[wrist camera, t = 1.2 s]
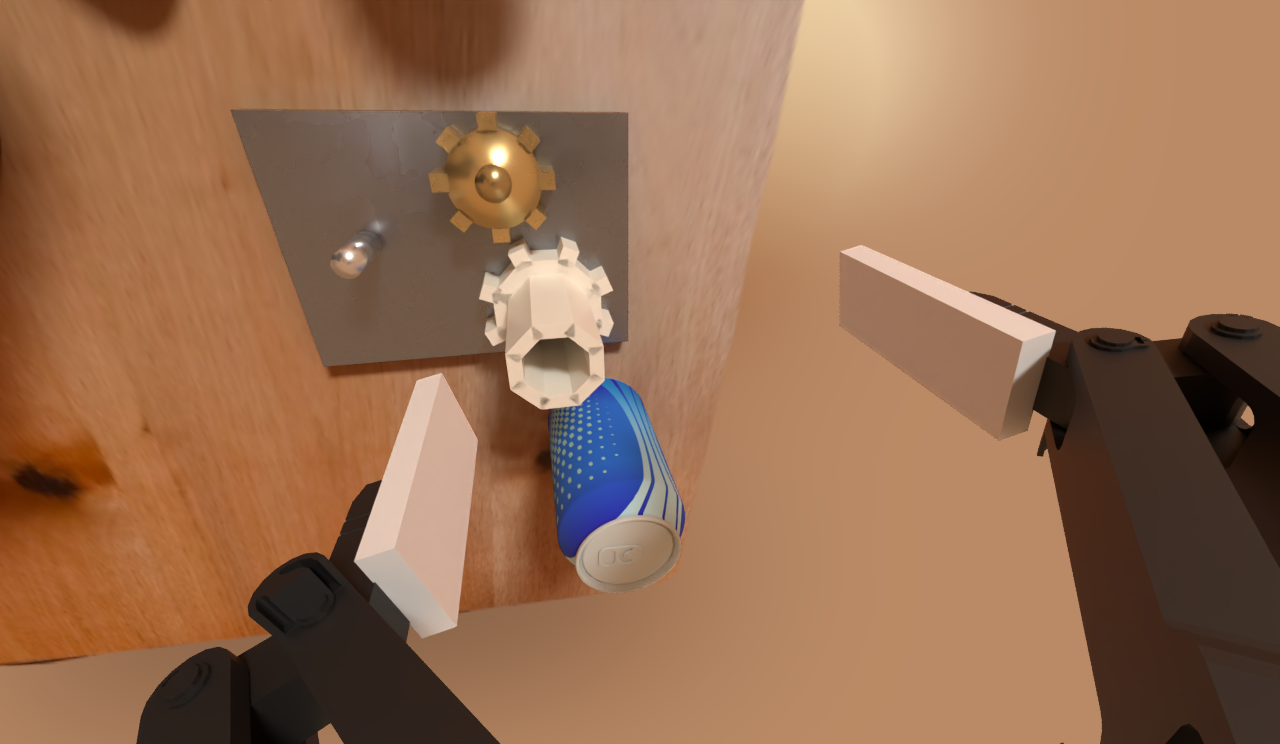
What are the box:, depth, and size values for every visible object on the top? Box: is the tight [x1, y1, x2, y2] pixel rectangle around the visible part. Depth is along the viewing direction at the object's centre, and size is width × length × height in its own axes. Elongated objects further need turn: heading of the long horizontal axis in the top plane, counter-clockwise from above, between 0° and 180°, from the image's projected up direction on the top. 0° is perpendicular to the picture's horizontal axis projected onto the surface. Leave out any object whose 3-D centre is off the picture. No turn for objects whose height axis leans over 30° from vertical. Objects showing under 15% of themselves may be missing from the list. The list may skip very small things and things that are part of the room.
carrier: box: [231, 109, 628, 367], centre depth 31 cm, size 22×16×6 cm
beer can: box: [548, 378, 685, 593], centre depth 36 cm, size 8×8×16 cm
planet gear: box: [479, 237, 614, 410], centre depth 31 cm, size 9×9×10 cm
